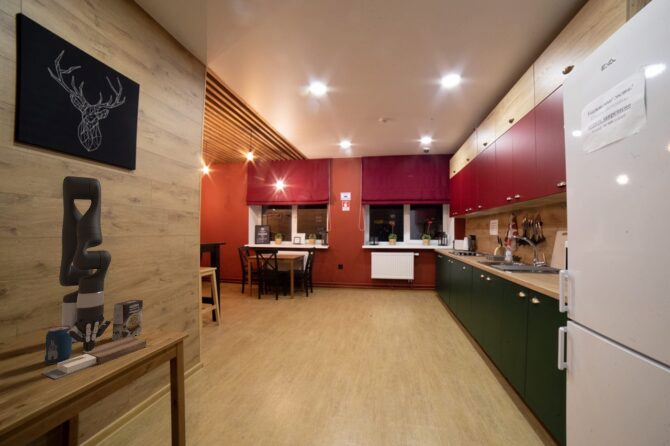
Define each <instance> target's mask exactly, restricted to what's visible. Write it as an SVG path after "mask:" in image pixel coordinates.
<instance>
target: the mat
mask: <svg viewBox="0 0 670 446" xmlns="http://www.w3.org/2000/svg"><path fill="white" fill-rule="evenodd" d="M95 365H99V364H98V363H97V362H96V363H95V364H92V365H89V366H87V367H84V368H81V369H78V370H76V371H73V372H70V373H65V372H63V371H60V370H58V369H57V367H55V368H52V369H48V370H45V371H43V372H41V374H42V375H44V376H47V377H48V378H50V379H53V380H54V381H55V380H58V379H60V378H64V377H66V376H68V375H72V374H74V373H78V372H80V371H82V370H84V369H87V368H90V367H92V366H95Z"/></svg>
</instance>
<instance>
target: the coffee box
mask: <svg viewBox="0 0 670 446" xmlns="http://www.w3.org/2000/svg"><path fill="white" fill-rule="evenodd" d="M143 303H144V299H129V300H125V301H121V302H117V303H114V304H113V319H112V320H113V321H112V338H111V339H112V341H115V340H118V339H121V338H124V337H127V336H129V337H132V338H135V337H136V336H135V335H137V334H140V333H141V334H142V327H143V326H142V325H143V324H142V323H143V309H144V308H143V306H144V305H143ZM141 334H140V335H141ZM134 336H135V337H134ZM137 336H138V335H137Z"/></svg>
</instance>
